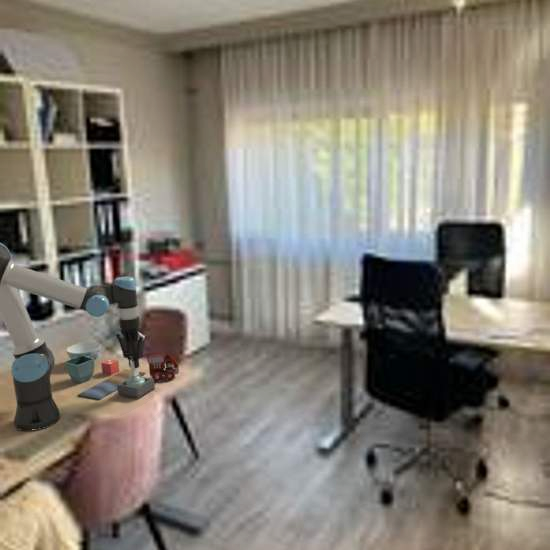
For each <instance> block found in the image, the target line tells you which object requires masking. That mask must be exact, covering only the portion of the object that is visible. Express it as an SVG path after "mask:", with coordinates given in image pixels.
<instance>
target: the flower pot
mask: <svg viewBox="0 0 550 550" xmlns="http://www.w3.org/2000/svg"><path fill="white" fill-rule="evenodd" d="M64 365H65V369H66V372H67V374H68V376H69V377H70V379H71V380H72V381H73V382H77V383H79V384H81V383H84V382H87V381H89V380H91V379H92V377H93V375H94V372H95V361H94V359H93V358H89V357H86V356H79V357H76V358H73V359H69V360H66V361H64Z"/></svg>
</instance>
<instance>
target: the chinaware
mask: <svg viewBox="0 0 550 550" xmlns="http://www.w3.org/2000/svg"><path fill="white" fill-rule="evenodd" d="M101 350H102V344H101V343H99V342H95V341H86V342H79V343H75V344H73V345H70V346H69V347H67V348H66V353H67V355H68V357H69V358H70V359H69V360H71V359H73V358H76V357H79V356H86V357H89V358H93V359H94V362H95V361H96V360H97V359H98V358H99V356H100V354H101Z"/></svg>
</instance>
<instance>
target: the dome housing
mask: <svg viewBox="0 0 550 550" xmlns="http://www.w3.org/2000/svg"><path fill="white" fill-rule="evenodd" d="M139 377H140V376H139ZM141 377H142V378H144V379H145V383H143V384H141V385H139V386H138V387H135V386H129V385H127V384H126V381H127V380H128V379H130V378H131V377H130V378H128V379H126V380H125V381H123V382H121V383H119V384H117V396H118V397H124V398H129V399H136V400H139V399H141V398H143V397H144V396H146V395H148V394H150V393H151V392H153V391H155V389H156V388H155V381H154V379H153V378H152V377H146V376H141Z"/></svg>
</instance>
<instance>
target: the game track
mask: <svg viewBox="0 0 550 550" xmlns="http://www.w3.org/2000/svg"><path fill="white" fill-rule="evenodd" d="M144 374H145V375H146V372H144V371H139V375H137V376H140V377H143V376H145V375H144ZM142 375H143V376H142ZM130 377H132V376H131V369H124V370H121V371H119V372H117V373H115V374H114V375H112V376H110V377H108V378H106V379H104V380H103V381H101V382H99V383H97V384H95V385H93V386H91V387H89V388H87V389H86V390H84V391H82V392H80V393H78V394H77V397H80V396H83V397H82V398H85V397H86V398H87V399H91V400H97V401H100V400H103V399H105V398H106V397H108V396H110V395H112V394H113V393H115V392H116V391H117V392H118V390H117V384H119V383H121V382H123V381H125V380H126V379H128V378H130Z"/></svg>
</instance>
